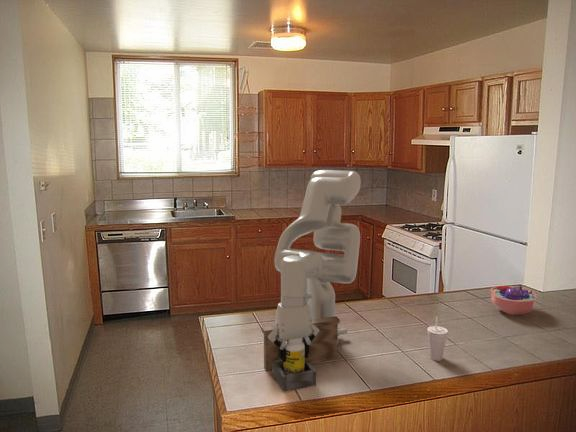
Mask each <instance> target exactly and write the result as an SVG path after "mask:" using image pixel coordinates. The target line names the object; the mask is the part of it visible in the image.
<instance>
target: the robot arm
mask: <svg viewBox="0 0 576 432" xmlns="http://www.w3.org/2000/svg"><path fill="white" fill-rule="evenodd" d="M361 183H362V180H361V176H360V174H359V173H358V172H357V171H355V170H337V169H320V170H316V171H314V172H312V174H311V176H310V180H309V181H308V183H307V186H306V189H305V195H304V198H303V202H302V205H301V209H300V214H299V217H298V218H297V219H295V220H294V221H293V222H291V223H290V224H289V225H288V226H287V227H286V228H285V230H284V231H283V232H282V233H281V235H280V237H279V240H278V243H277V247H276V250H275V253H274V267H275V270H276V271H278V273H280V302H279V303H277V308H276V314H275V321H274V322H275V324H274V325H275V329H274V330H273V331H272V332H271V333H270V334H269V335H268V338H269V340H271V341H272V342H273V343H274V344H275V345H276V346H278V347H279V358H280V359H281V360H282V361H283V362H285V361H286V349H285V348H284V347H285V344H286V342H287V340H290V339H295V338H302V337H303V340H304V341H302V342H303V343H304V345H305V358H308V354H309V345H310V344H311V341H312V340H313V339H314V338H315V336H316V335H317V334H318V332H319V331H320V330H319V329H318V328H317V327H316V326H315V325H314V324H312V320H314V319H321V318H328V317H335V316H336V315H335V314H336V310H335V309H336V293H335V289H334V287H333V286H332V284H331V283H337V284H346V285H347V284H348V285H349V284H352V283H354V281H355V280H356V276H357V271H358V265H359V264H358V263H359V262H358V261H359V255H360V247H361V246H360V245H361V232H360V229H359V227H358V226H357V225H356V224H353V223H349V222H348V223H347V222H346V223H345V222H341V219H342V214H343V213H342V208H341V205H348V204H349V203H351V202H352V200H354V198H356V196H357V195H358V194H359V191H360V190H361V186H362V184H361ZM310 233H313V244H314V246H315V247H316V248H317V249H321V250H325V251H336V252H337V251H339V252H343V253H344V254H341V253H332V252H318V251H315V250H307V249H299V248H298V249H297V248H291V246H292V244H293V243H294V242H295V241H296V240H297V239H299V238H300V237H302V236H305V235H308V234H310ZM312 329H313V330H312ZM345 334H348V330H347V328H346V327H345V328H342V327H341V326H338V334H337V345H338V344H339V341H340V340H339V336H340V335H345ZM276 335H279V340H277V339H276V338H275V336H276Z"/></svg>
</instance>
